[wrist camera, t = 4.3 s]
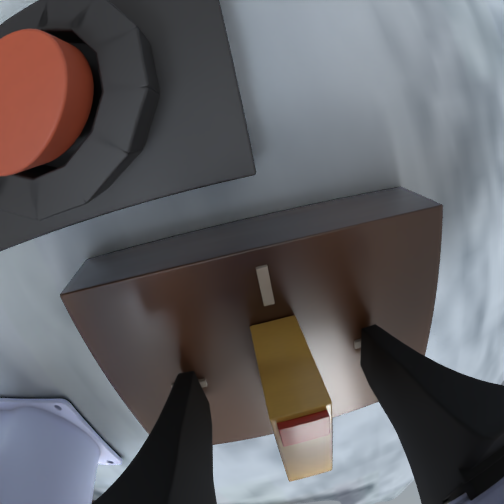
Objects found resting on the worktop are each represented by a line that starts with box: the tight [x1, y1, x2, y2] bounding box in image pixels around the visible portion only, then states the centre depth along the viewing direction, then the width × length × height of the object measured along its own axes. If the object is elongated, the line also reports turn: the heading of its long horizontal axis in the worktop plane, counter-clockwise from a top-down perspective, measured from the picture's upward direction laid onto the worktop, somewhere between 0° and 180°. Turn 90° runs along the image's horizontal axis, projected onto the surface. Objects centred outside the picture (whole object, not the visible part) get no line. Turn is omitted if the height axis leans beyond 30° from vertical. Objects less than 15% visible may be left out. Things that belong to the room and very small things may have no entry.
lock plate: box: [60, 187, 443, 445], centre depth 13 cm, size 14×10×3 cm
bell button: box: [0, 29, 94, 176], centre depth 5 cm, size 4×4×2 cm
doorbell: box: [0, 0, 256, 251], centre depth 8 cm, size 11×8×4 cm
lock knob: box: [250, 315, 333, 481], centre depth 9 cm, size 5×2×4 cm, turn 11°
